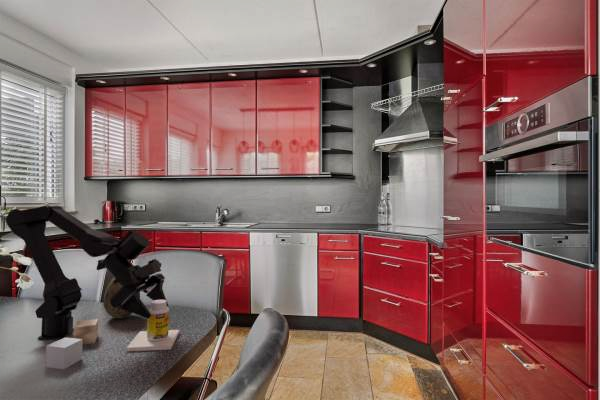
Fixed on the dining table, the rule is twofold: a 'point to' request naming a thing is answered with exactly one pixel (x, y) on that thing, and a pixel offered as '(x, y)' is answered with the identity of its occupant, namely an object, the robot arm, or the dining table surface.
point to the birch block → (86, 331)
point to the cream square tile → (152, 342)
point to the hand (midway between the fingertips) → (158, 311)
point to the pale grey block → (63, 353)
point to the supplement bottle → (158, 321)
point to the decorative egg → (108, 294)
